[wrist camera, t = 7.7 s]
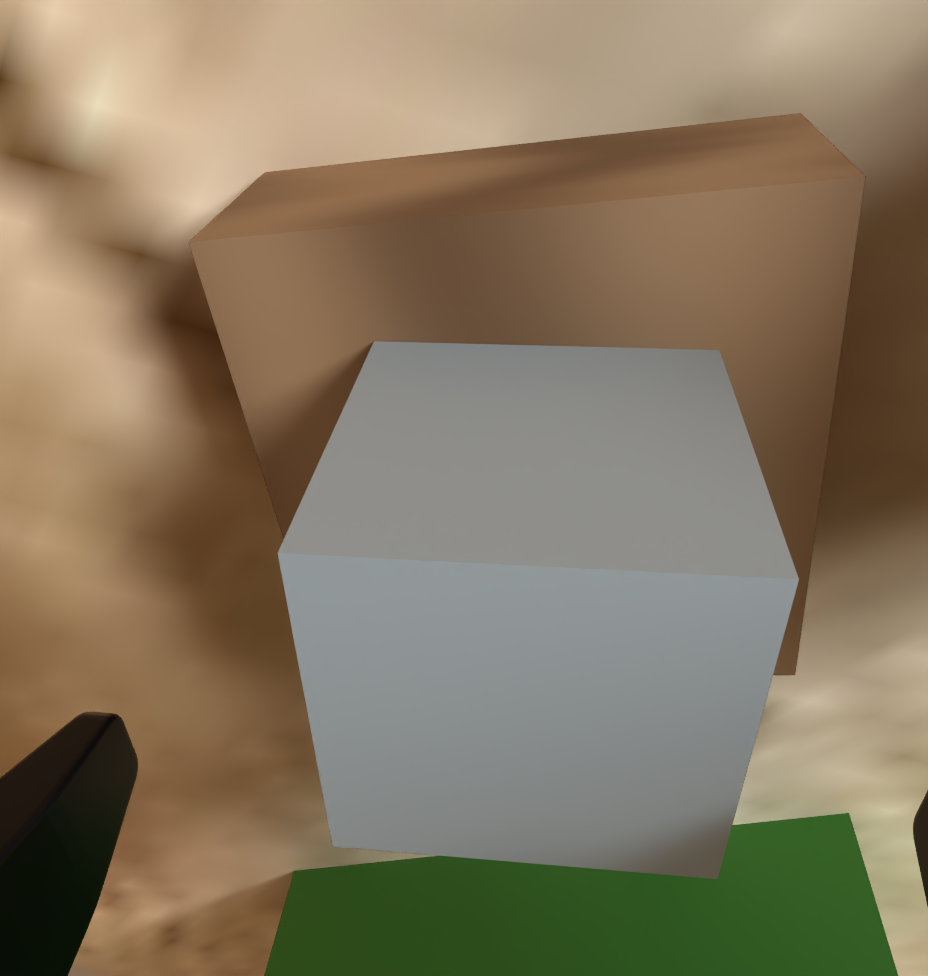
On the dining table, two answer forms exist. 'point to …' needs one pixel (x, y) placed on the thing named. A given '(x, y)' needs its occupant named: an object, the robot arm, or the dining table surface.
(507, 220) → the walnut block
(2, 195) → the dining table surface
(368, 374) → the slate cube
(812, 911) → the hardback book
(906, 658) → the dining table surface
